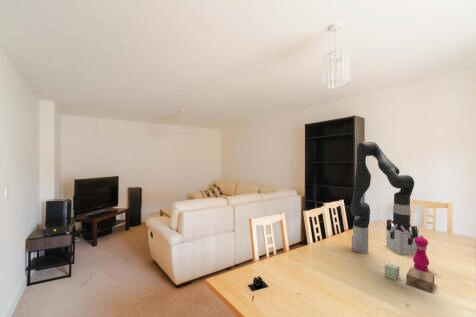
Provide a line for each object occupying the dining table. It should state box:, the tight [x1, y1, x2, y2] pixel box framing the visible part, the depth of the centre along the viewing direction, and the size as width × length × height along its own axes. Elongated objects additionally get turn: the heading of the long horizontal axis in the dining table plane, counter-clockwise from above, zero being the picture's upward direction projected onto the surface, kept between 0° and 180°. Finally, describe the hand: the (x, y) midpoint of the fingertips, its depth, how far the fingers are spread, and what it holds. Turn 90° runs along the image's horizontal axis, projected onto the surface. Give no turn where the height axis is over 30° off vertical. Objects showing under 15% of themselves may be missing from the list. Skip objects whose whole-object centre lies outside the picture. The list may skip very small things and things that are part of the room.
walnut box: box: [405, 267, 435, 293], centre depth 115 cm, size 10×10×5 cm
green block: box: [384, 262, 400, 281], centre depth 122 cm, size 5×5×6 cm
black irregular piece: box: [247, 275, 269, 292], centre depth 114 cm, size 12×7×5 cm, turn 112°
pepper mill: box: [412, 234, 430, 272], centre depth 129 cm, size 7×7×20 cm
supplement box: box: [386, 223, 420, 256], centre depth 153 cm, size 13×13×18 cm
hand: (401, 241), depth 121 cm, fingers open, 8 cm apart
